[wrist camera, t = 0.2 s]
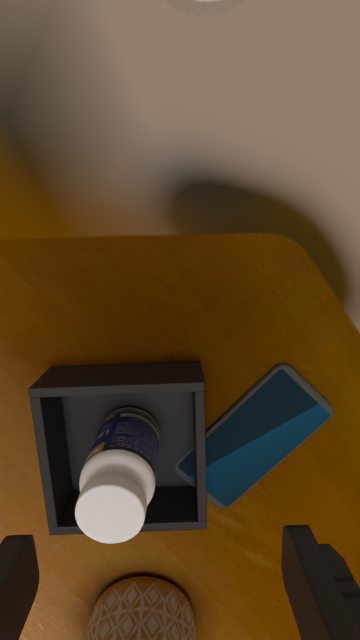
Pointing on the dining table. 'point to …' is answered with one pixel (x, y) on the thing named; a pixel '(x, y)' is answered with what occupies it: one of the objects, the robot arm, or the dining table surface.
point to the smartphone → (257, 434)
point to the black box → (86, 418)
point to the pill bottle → (119, 476)
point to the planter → (142, 612)
